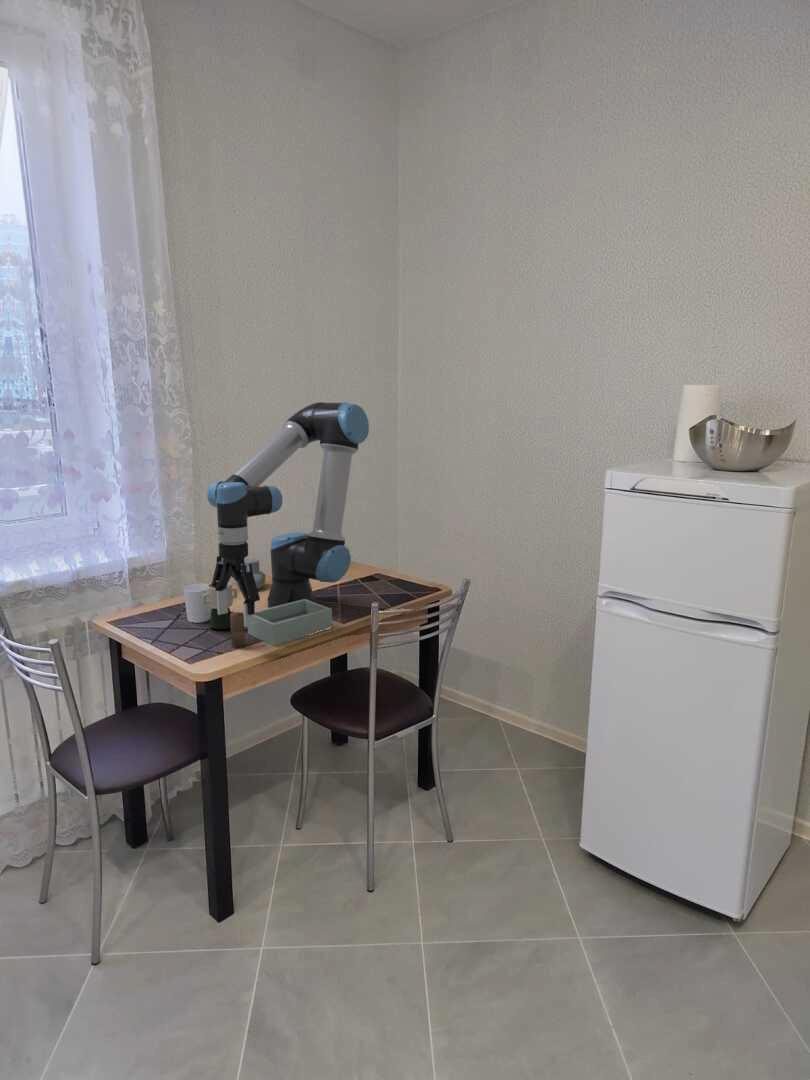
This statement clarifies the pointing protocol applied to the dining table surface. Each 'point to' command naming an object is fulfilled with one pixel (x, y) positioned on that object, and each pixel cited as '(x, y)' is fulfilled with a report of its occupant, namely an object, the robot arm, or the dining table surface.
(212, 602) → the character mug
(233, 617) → the peg
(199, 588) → the white cup
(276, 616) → the box
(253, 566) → the air freshener
